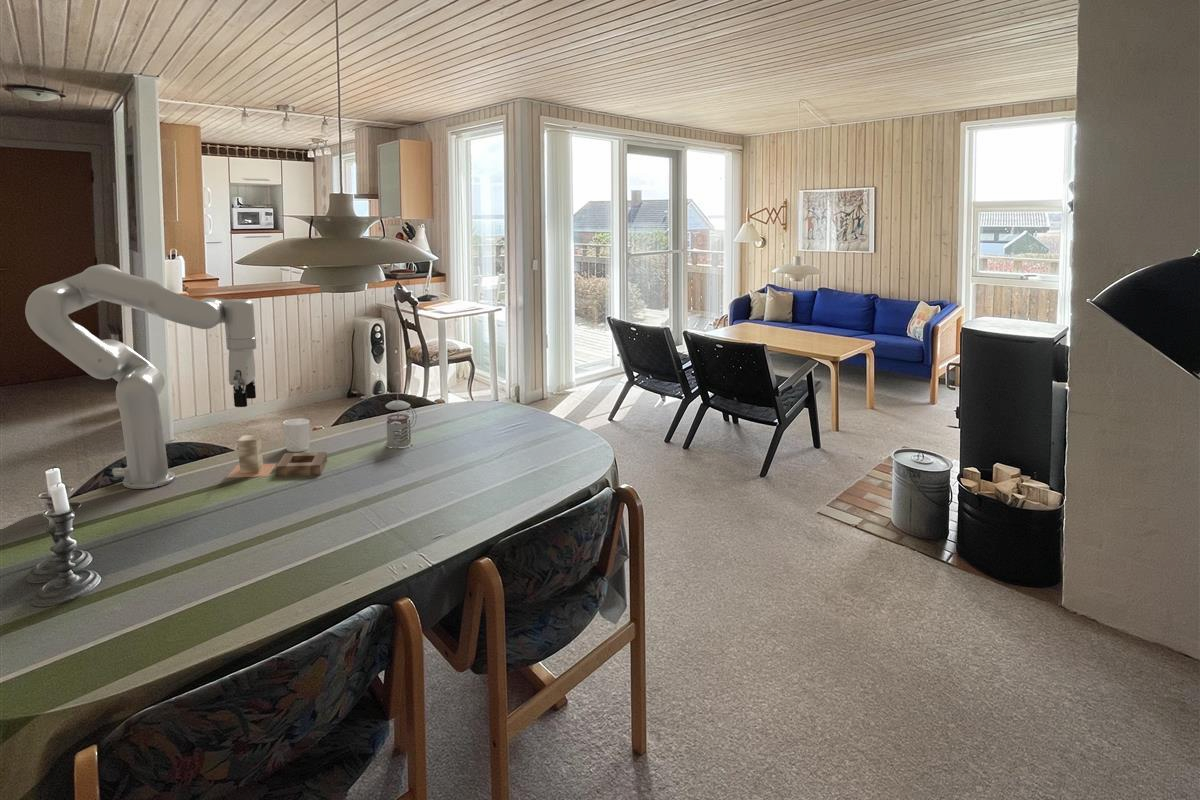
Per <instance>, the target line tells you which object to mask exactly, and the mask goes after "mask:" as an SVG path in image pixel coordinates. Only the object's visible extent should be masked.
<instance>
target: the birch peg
mask: <svg viewBox="0 0 1200 800" xmlns="http://www.w3.org/2000/svg"><path fill="white" fill-rule="evenodd" d="M261 438H262V437H261V435H260V434H255V435H254V434H252V435H251V434H249V435H243V434H242V435H241V436H240V437H239V438H238V439H237V450H238V462H239V465H240V473H259V472H260V471H261V470H262V468H263V464H264V461H263V460H264V458H263V449H262V439H261Z"/></svg>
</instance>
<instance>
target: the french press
mask: <svg viewBox="0 0 1200 800" xmlns="http://www.w3.org/2000/svg"><path fill="white" fill-rule="evenodd" d="M393 376H394V377H400V376H401V374H400V372H398V371H397V372H396V371H395V372H394V373H393ZM396 393H397V395H396V397H397V398H396V399H397V400H392V401H389V402H388V403H386V404H385V406H384V407H385V408H386V409H388V410H392V411H393V410H395V411H399V410H405V411H406V412H408V413H409V412H410V411H411V412H412V420H410V416H409V415H408V414H406V413H405V414H400V413H399V412H397V413H394V414H389V415H387V420H386V439H387V440H386V442H385V443H384V444H385V445H386V446H387V447H392V448H399V447H405V446H408V445H411V444H412V442H413V441H412V439H411V438H412V436H411V435H412V432H411V431H412V428H414V426H415V425H416V423H417V419H418V418H417V412H416V410H415V409H414V408H412V407H411V404H410V403H408V402H406V401H404V400H400V399H399V387H398V381H396ZM407 409H408V410H407ZM414 414H415V420H414ZM413 421H414V424H413ZM395 422H397V423H395ZM412 424H413V425H412ZM411 425H412V426H411Z"/></svg>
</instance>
